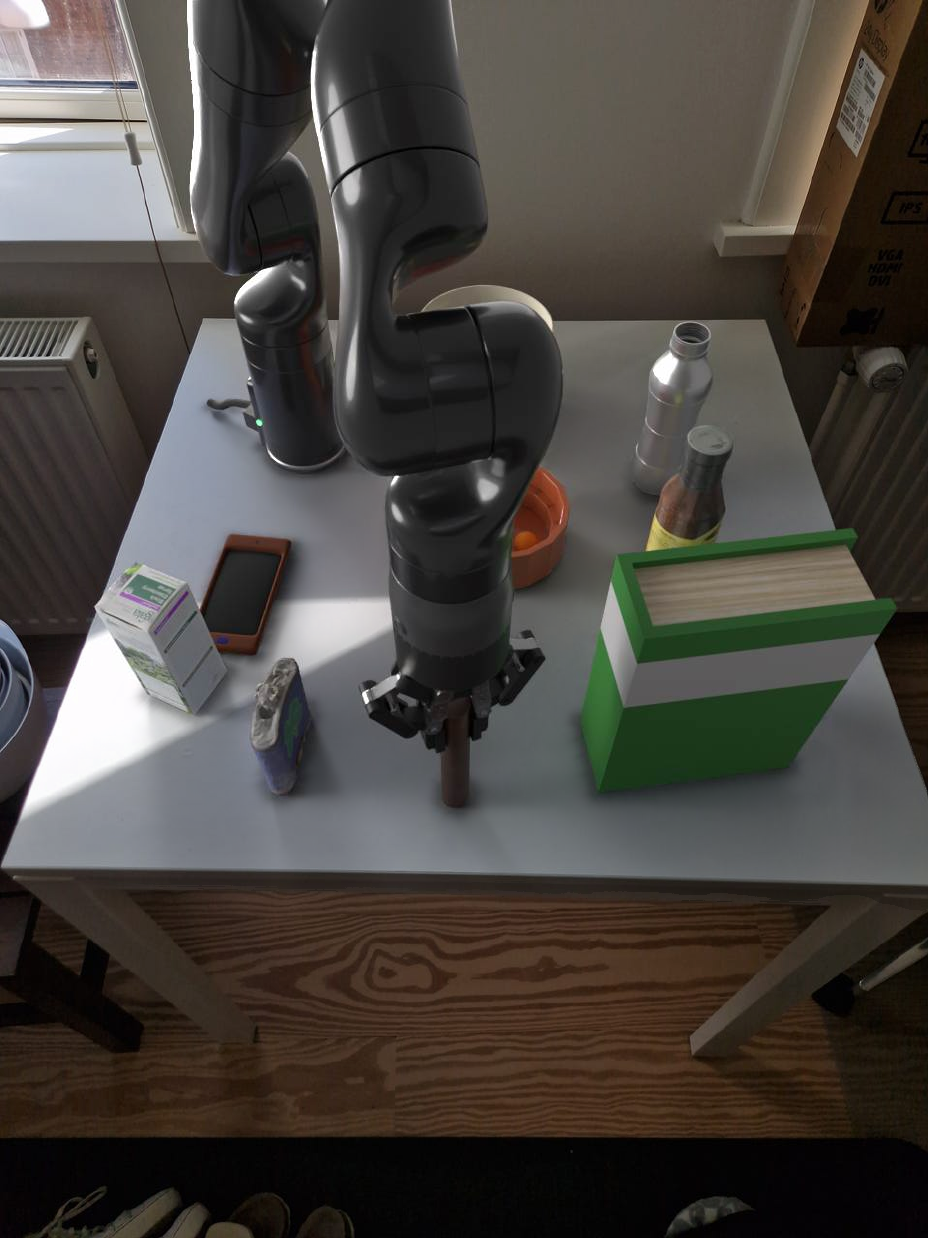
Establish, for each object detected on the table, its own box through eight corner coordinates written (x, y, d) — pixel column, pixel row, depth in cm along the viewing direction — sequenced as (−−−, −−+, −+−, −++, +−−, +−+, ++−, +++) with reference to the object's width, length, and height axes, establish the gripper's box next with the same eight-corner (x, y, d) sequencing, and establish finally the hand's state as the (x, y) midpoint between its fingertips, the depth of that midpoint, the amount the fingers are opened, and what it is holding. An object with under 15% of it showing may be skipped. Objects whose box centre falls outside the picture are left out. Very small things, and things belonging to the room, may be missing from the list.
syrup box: (229, 671, 83) (191, 578, 72) (194, 719, 80) (147, 630, 68) (181, 650, 85) (135, 556, 73) (144, 697, 82) (90, 606, 70)
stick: (436, 799, 75) (431, 708, 62) (452, 778, 77) (450, 684, 64) (458, 813, 75) (458, 724, 62) (474, 792, 76) (477, 700, 63)
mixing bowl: (405, 556, 92) (401, 518, 87) (478, 477, 99) (479, 438, 94) (518, 616, 87) (521, 580, 82) (587, 529, 94) (594, 491, 89)
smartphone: (184, 645, 84) (227, 531, 92) (186, 650, 84) (229, 537, 93) (254, 652, 83) (291, 537, 92) (256, 658, 84) (293, 543, 93)
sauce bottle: (696, 615, 87) (748, 474, 71) (634, 605, 88) (672, 463, 72) (698, 566, 91) (748, 422, 75) (640, 557, 92) (677, 413, 76)
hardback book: (760, 697, 82) (852, 527, 62) (788, 767, 77) (897, 608, 58) (579, 720, 80) (616, 554, 61) (598, 792, 76) (644, 639, 56)
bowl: (394, 403, 106) (388, 334, 98) (467, 338, 114) (467, 269, 106) (501, 454, 101) (505, 386, 93) (570, 382, 109) (579, 313, 101)
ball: (508, 554, 91) (509, 537, 89) (521, 538, 92) (522, 522, 90) (529, 564, 90) (530, 548, 88) (541, 549, 91) (543, 532, 89)
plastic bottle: (619, 493, 97) (650, 345, 81) (635, 455, 101) (668, 306, 85) (675, 509, 96) (717, 361, 80) (689, 469, 100) (732, 320, 83)
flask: (292, 798, 75) (270, 740, 67) (260, 794, 76) (233, 736, 67) (315, 708, 81) (297, 644, 72) (285, 705, 81) (263, 640, 72)
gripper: (530, 531, 56) (517, 672, 70) (326, 590, 53) (355, 725, 67) (579, 617, 52) (555, 748, 66) (361, 686, 49) (384, 808, 63)
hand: (454, 736), depth 67 cm, fingers closed on stick, 2 cm apart
